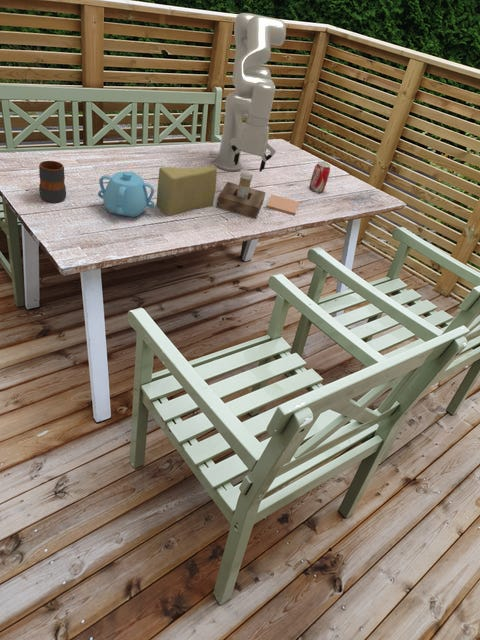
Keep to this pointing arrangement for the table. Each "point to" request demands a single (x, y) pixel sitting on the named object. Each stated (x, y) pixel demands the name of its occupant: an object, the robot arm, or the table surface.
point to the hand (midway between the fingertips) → (248, 167)
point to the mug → (52, 181)
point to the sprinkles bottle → (244, 184)
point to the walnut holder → (240, 200)
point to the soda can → (320, 177)
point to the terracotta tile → (282, 204)
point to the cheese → (185, 188)
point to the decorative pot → (126, 194)
